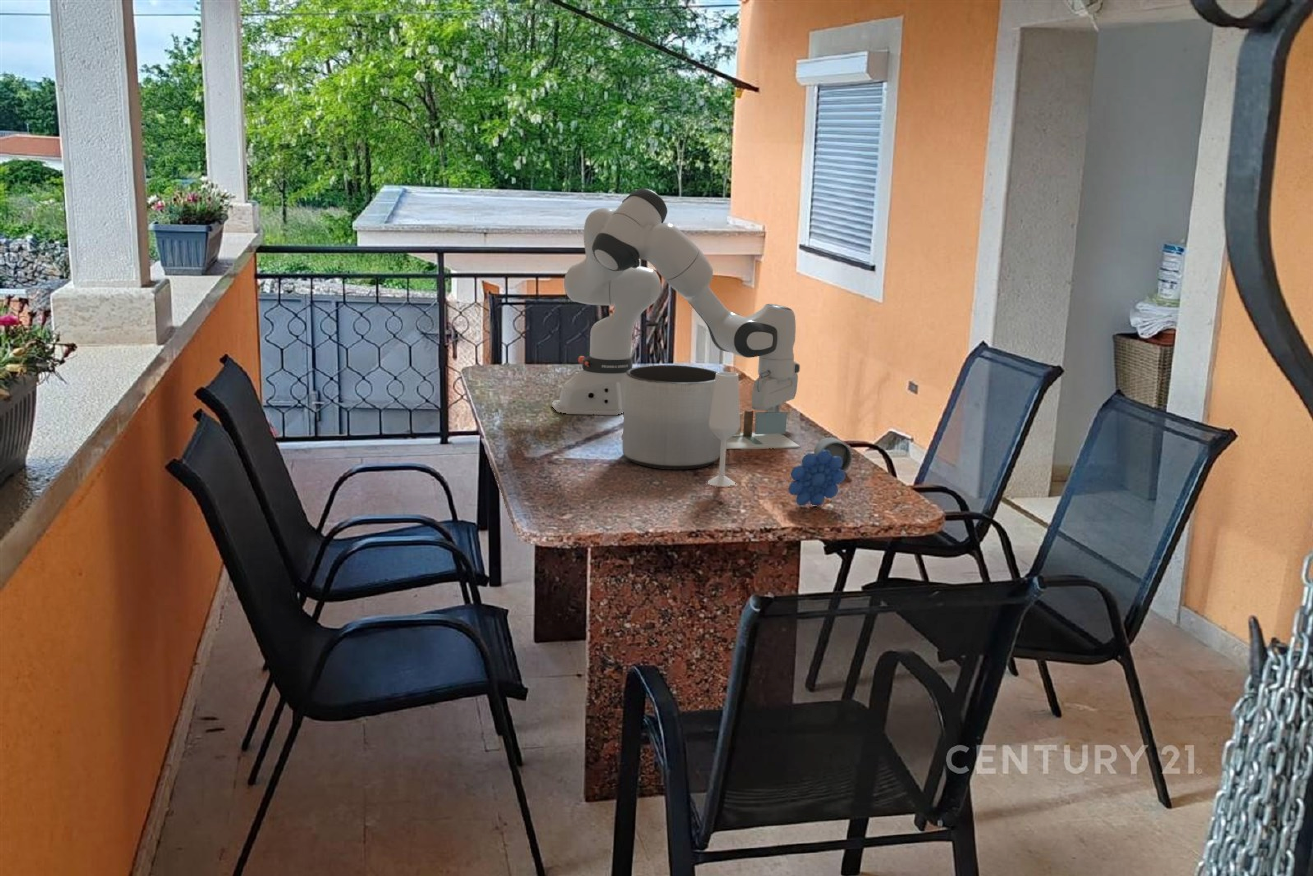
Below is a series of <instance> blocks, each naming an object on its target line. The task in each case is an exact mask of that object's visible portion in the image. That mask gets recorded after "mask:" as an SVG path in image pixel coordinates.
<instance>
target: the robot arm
mask: <svg viewBox="0 0 1313 876" xmlns="http://www.w3.org/2000/svg"><path fill="white" fill-rule="evenodd" d="M667 215H668V208H667V205H666V203H665V201H664V199H663V198H662V197H661V195H659V194H658V193H656V192H655V191H653V189H648V188H638V189H636V190H634V191H633V192H631V193H630V194H629V195H628V196H626V197H625V198H624V199H623V200H622V202H621V204H619V206H618V207H617V208H616V210H614V209H611V208H608V207H607V208H606V207H601V208H596V209H594V210H593V211H591V212H590V213H589V214H588V215H587V217H586V219H585V222H584V227H583V245H584V251H585V259H584V260H581V261H580V262H579V263H576V264H573V265H571V266H570V267H569V268H568V270H567V272H566V273H565V275H564V279H563V287H564V291H565V293H566V296H567V297H568V298H569V299H570V301H572V302H576V303H579V304H585V305H592V306H611V307H614V311H613V313H612V314H611V315H609V316H606V317H604V318H602V319H600V320H598V321H596V322H595V323H593V325H592V327H591V329H590V333H589V334H590V335H589V355H588V356H587V357H585V356H584V355H580V356H579V357H578V358H577V360H578V363H579V364H581V366H582V367H581V368H582V369H581V370H580V371H579V372H577V373H576V374H575V375H573V376H572V377H571V378H569V379H568V380H567V381H565V382H564V383H563V385H562V387H561V391H560V397H559V399H557V400H556V399H555V400H554V401H552V403H551V408H552V407H553V408H554V409H555V410H556V411H555V410H554V409H553V408H552V409H553V410H554V411H555V412H557V413H560V412H562V413H561V414H563V413H566V415H593V414H594V415H595V416H596V415H598V416H601V415H602V416H619V415H618V414H620V415H622V414H623V413H622V412H624V404H625V379H626V371H628V370H629V369H632V368H633V358H632V356H631V355H632V354H631V353H632V342H633V340H632V339H633V333H634V328H635V325H636V322H637V321H638V319H639V317H640V316H641V315H642V314H643V312H644V311H646V310H647V309H648V308H649V307H651V306H652V305H653V304H654V303H655V302H657V300H658V298H659V297H660V294H661V291H662V283H661V279H660V276H661V278H662V279H663V280H665V282H666V283H667V284H668V285H669V286H670V287H671V288H672V290H674V291H675V292H677V293H678V294H679V295H680V296H682V297H683V298H684V299H685V300H686V301H687V302H688V303H689V304H690V306H692V308H693V309H694V311H695V312H696V313H697V314H698V316H699V317H700V318H701V320H702V321H703V322H704V324H705V325H706V327H707V329H708V332H709V335H710V337H711V338H710V339H711V341H712V342H713V344H714V346H715V347H716V348H717V349H719V350H721V351H722V352H723V351H724V352H727V353H732V354H734V355H737V356H740V357H743V358H745V359H746V358H748V359H750V358H757V357H758V365H757V366H758V370H757V375H758V377H757V378H756V379H755V380H754V383H753V387H752V391H751V392H752V393H751V403H750V405H751V408H752V410H757V411H761V412H762V411H763V412H781V410H782V409H781V408H782V404H784V403H787V402H789V401H793V400H794V399H795V397H796V394H797V390H798V382H799V381H798V380H799V374H798V373H800V371H801V365H800V363H797V361H795V354H794V346H795V343H796V334H797V333H796V332H797V331H796V330H797V329H796V314H795V312H794V311H793V309H791V308H789V307H787V306H784V305H779V304H776V303H766V304H765V305H764V306H763V307H762V308H761V309H759V310H758V311H757V312H755V313H753V314H750V315H747V316H743V315H740V314H739V313H736V312H735V311H732V310H729V309H728V308H727V307H725V305H724V304H723V303H722V302H721V300H720V299H719V298H718V297H717V296H716V294H715V293H714V292H713V290H712V289H711V287H710V285H711V283H712V280H713V275H714V271H713V267H712V265H711V263H710V262H709V260H708V259H707V256H706V255H705V254H704V253H703V251H702V250H701V249H700V248H699V247H698V246H697V245H696V244H695V242H694V241H692V239H690V238H689V237H688V236H687V235H686V234H685V233H684V232H683V231H681V230H680V229H679V228H678V227H676V226H675V225H674V224H672V223H669V222H665V220H666V217H667ZM640 260H644V261H647V262H649V264H651V265H652V267H654V269H652V268H649V267H645V266H641V265H640V263H641V261H640ZM658 273H659V275H660V276H659V275H658ZM621 413H622V414H621Z"/></svg>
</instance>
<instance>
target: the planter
mask: <svg viewBox="0 0 1313 876" xmlns="http://www.w3.org/2000/svg"><path fill="white" fill-rule="evenodd" d="M718 372H719V371H715V370H713V369H709V368H704V367H703V368H702V367H696V366H690V365H673V364H671V365H670V364H664V365H663V364H658V365H657V364H655V365H644V366H636V367H632V369H629V370H628V371H626V379H625V404H624V413H623V424H622V425H623V426H622V446H621V447H622V453H623V455H624V456H625V458H627V459H628V460H629V461H631V462H632V463H634V464H637V465H640V466H642V467H643V466H644V467H648V468H652V467H655V468H654V469H660V468H661V469H664V470H690V469H691V470H693V469H694V470H695V469H699V468H704V467H707V466H709V465H712V464H713V463H716V461H718V460H719V459H720V447H721V440H720V439H719V438H717V436H716V435H715V434H714V433H713V432H712V431H711V429H710V427H709V418H710V411H711V404H712V397H713V390H714V383H715V376H716V373H718Z"/></svg>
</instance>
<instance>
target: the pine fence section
mask: <svg viewBox="0 0 1313 876" xmlns="http://www.w3.org/2000/svg"><path fill="white" fill-rule="evenodd" d="M743 415H744V416H743ZM742 417H743V428H742ZM753 424H754V410H753V409H752V410H751V409H747V410H746V409H744V414H743V413H742V412H740V428H739V429H738V431H737V432H736V433H735V434H734V435H741V433H743V436H746V437H751V436H752V433H753V427H754V425H753ZM741 429H743V432H741Z"/></svg>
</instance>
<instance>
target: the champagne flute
mask: <svg viewBox="0 0 1313 876" xmlns="http://www.w3.org/2000/svg"><path fill="white" fill-rule="evenodd" d="M717 372H718V373H716V376H715V383H714V390H713V397H712V404H711V411H710V418H709V427H710V429H711V431H712V432H713V433H714V434H715V435H716V436H717V438H719V439H720V440H721V447H720V457H719V467H718V469H719V470H718V475H717V476H715V477H713V478H711V479H709V480H707V481H708V484H710V485H717V486H730V485H735V483H736V482H735V481H733V480H732V479H731V478H729V477H728V476H726V475H725V473H726V455H727V454H726V452H727V450H726V440H728V439H730V438H731V437H732V436H733V435H734V434H735V433H736V432H737V431H738V429H739V428H740V413H741V412H740V411H741V410H740V384H739V373H737V372H731V371H730V372H729V371H717Z"/></svg>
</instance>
